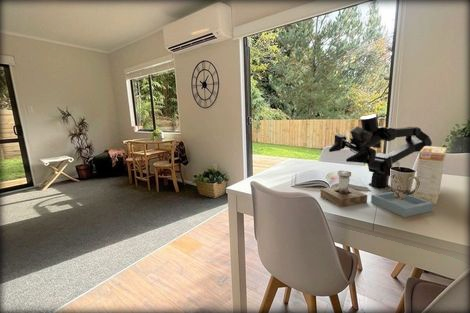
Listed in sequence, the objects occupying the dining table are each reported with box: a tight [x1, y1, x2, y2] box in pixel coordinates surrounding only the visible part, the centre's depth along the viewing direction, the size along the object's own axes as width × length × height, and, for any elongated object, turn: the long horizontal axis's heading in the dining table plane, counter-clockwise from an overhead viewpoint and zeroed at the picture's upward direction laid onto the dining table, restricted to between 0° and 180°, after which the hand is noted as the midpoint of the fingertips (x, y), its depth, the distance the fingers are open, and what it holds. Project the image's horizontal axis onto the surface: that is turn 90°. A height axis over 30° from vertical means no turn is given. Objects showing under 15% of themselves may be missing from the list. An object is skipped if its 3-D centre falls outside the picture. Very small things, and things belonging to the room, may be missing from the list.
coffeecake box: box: [413, 145, 447, 206], centre depth 88 cm, size 15×7×20 cm, turn 134°
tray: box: [370, 191, 434, 218], centre depth 82 cm, size 13×13×3 cm
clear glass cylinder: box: [337, 170, 352, 195], centre depth 90 cm, size 5×5×11 cm
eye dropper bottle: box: [392, 160, 401, 168], centre depth 118 cm, size 4×6×12 cm
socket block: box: [320, 185, 368, 208], centre depth 91 cm, size 12×12×3 cm
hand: (337, 155), depth 92 cm, fingers open, 9 cm apart
